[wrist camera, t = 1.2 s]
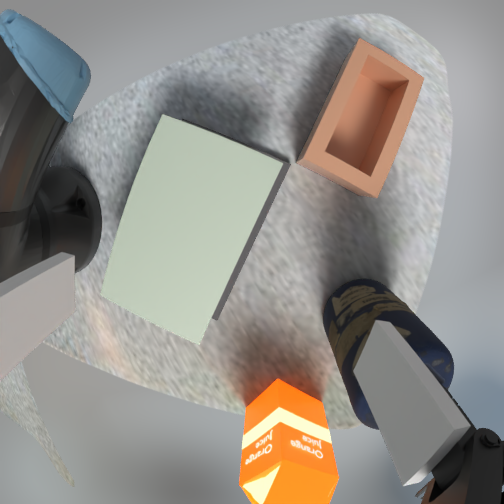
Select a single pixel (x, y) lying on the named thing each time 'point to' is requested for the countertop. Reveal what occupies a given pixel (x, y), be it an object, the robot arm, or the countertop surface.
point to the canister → (359, 328)
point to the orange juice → (287, 449)
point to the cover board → (186, 226)
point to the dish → (362, 120)
